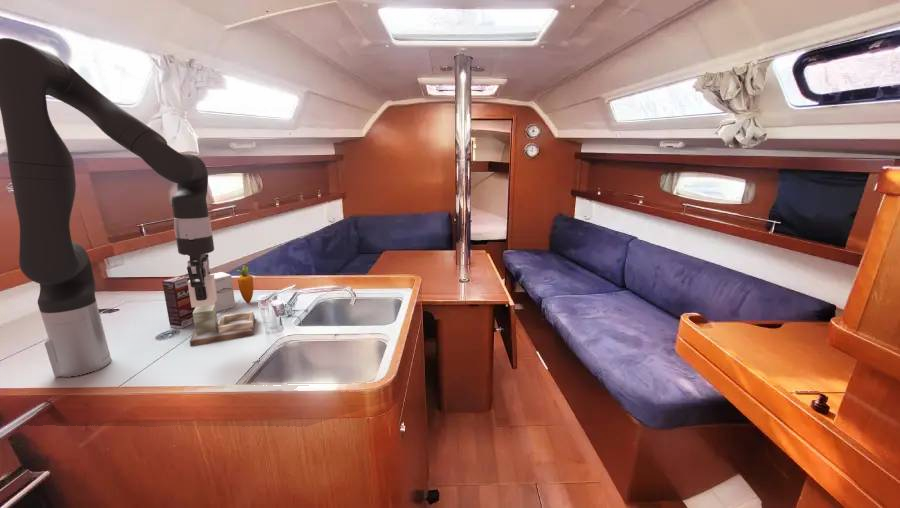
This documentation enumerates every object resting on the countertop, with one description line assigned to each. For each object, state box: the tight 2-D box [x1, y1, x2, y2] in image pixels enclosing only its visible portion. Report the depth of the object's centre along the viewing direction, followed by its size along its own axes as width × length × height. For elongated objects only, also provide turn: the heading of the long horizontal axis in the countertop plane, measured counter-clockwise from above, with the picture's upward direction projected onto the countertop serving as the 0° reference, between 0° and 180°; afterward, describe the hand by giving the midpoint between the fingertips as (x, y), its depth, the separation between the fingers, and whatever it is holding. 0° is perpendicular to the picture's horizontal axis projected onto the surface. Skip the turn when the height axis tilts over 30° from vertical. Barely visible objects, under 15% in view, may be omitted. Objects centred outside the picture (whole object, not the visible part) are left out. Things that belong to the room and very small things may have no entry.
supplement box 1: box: [161, 273, 195, 329], centre depth 109 cm, size 9×5×16 cm, turn 168°
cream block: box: [188, 275, 217, 307], centre depth 89 cm, size 5×5×7 cm
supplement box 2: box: [210, 271, 236, 313], centre depth 122 cm, size 7×7×13 cm
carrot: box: [236, 265, 254, 304], centre depth 126 cm, size 5×5×15 cm
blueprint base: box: [189, 305, 256, 347], centre depth 105 cm, size 16×13×9 cm
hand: (203, 295), depth 89 cm, fingers closed on cream block, 5 cm apart
